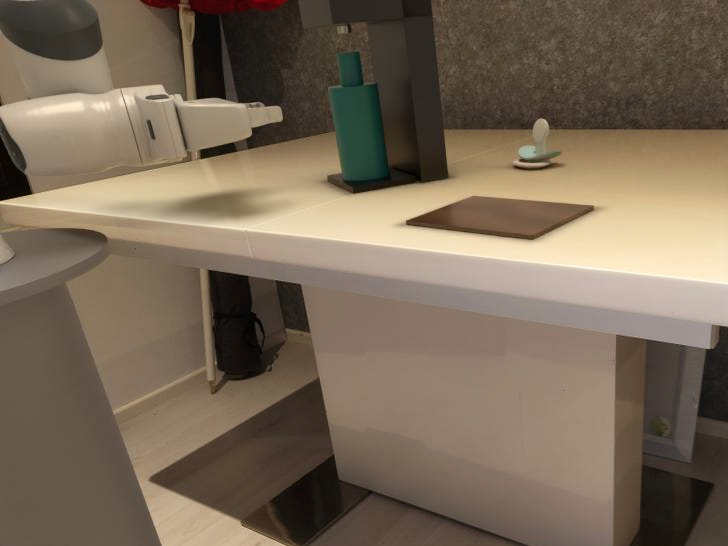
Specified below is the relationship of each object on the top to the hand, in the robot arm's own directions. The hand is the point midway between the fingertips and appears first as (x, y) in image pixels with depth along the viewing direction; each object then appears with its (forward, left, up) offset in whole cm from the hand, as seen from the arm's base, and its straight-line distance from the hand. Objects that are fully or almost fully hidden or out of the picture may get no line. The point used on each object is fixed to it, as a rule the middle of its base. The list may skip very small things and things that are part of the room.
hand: (272, 111), depth 87 cm
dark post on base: (+12, -6, -11) cm, 18 cm away
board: (0, -35, -11) cm, 37 cm away
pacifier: (+26, -23, -11) cm, 36 cm away
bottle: (+10, -5, -10) cm, 15 cm away
